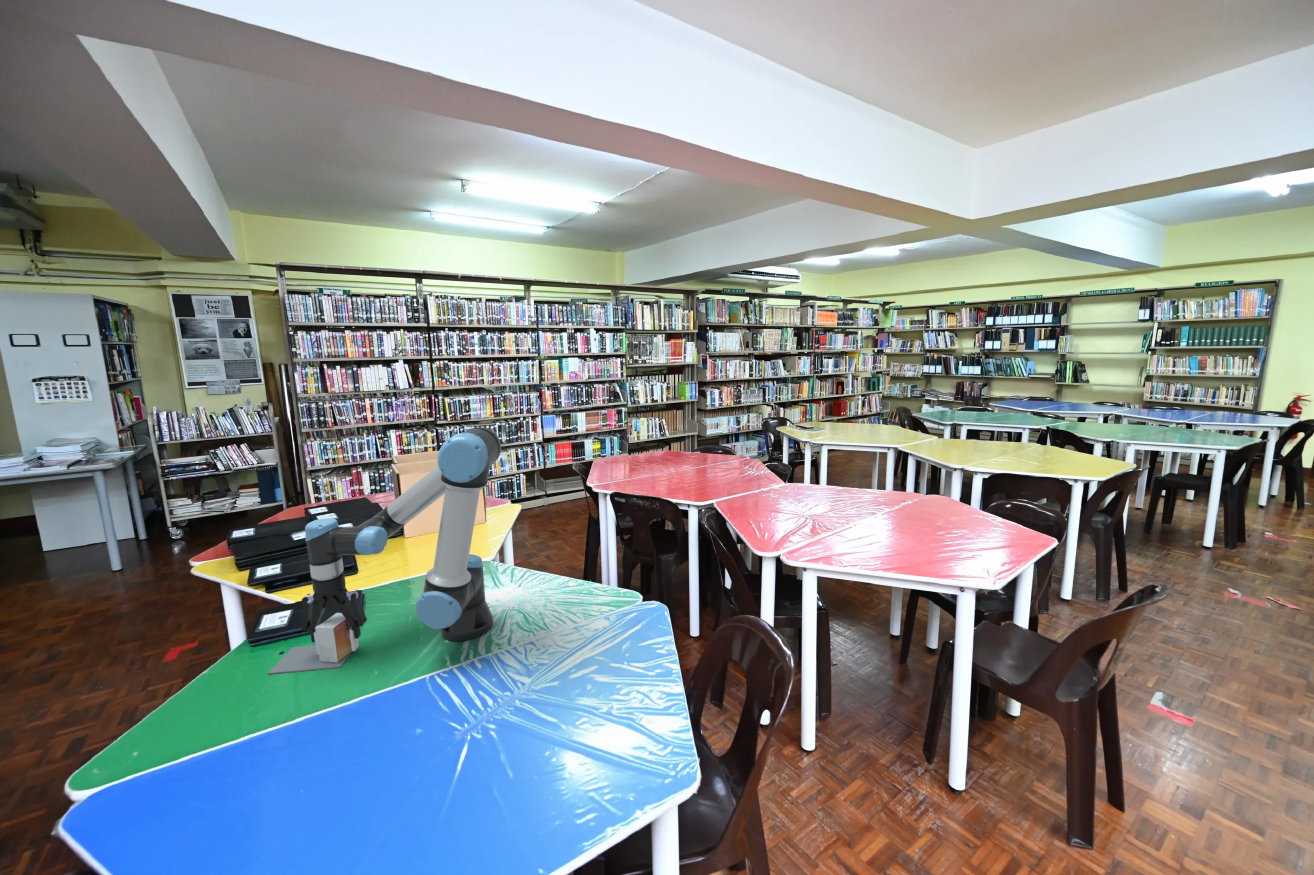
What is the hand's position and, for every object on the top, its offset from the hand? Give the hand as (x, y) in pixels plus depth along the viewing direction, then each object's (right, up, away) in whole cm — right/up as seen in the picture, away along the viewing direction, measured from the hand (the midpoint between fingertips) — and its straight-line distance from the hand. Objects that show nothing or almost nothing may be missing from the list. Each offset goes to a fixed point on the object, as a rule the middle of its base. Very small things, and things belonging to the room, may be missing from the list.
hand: (338, 649), depth 141 cm
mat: (-6, -2, -1) cm, 6 cm away
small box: (0, -2, 0) cm, 2 cm away
